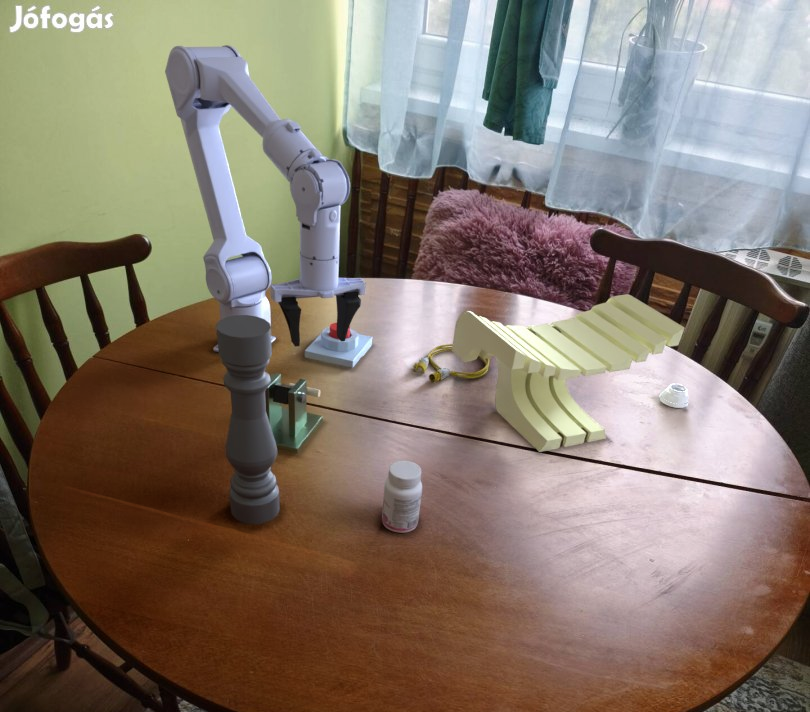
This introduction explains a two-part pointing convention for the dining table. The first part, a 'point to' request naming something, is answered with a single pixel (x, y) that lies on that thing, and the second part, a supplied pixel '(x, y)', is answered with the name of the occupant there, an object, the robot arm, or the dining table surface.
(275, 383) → the switch bracket
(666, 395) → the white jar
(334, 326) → the button
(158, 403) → the dining table surface
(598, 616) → the dining table surface
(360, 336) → the button box
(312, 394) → the switch lever
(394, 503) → the pill bottle
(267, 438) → the candle holder
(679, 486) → the dining table surface
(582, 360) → the slatted curved stool
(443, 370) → the extension cord
